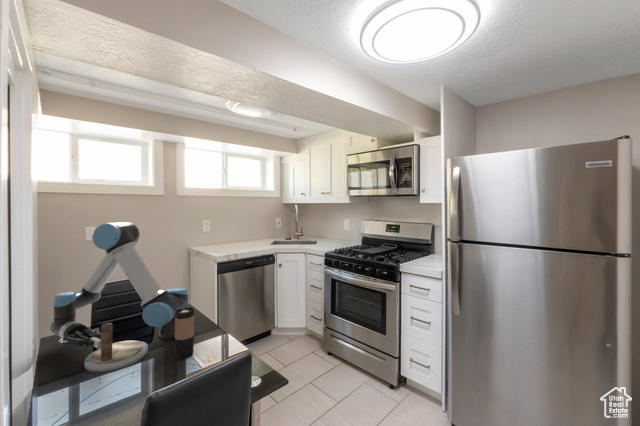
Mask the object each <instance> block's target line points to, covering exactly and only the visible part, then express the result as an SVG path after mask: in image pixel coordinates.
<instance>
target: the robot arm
mask: <svg viewBox="0 0 640 426" xmlns="http://www.w3.org/2000/svg"><path fill="white" fill-rule="evenodd" d="M140 233H141V232H140V230H139V227H138V226H137V225H135V224H134V223H132V222H130V221H129V222H127V221H122V222H119V221H118V222H113V221H112V222H111V221H110V222H106V223H102V224H100V225H98V226H97V227H96V228H94V230H93V234H92V243H93V245H94V246H95V247H96V248H98V249H100V250H104V251H105V252H106V254H104V256H103V258H102V260H101V261H100V262H99V264H98V265H97V267H96V268H95V270H94V271H93V273H91V276H90V277H89V278H88V280H87V282H86V283H85V284H84V286H83V288H81V290H80V291H79V292H77V293H76V292H75V291H66V292H60V293H57V294H56V295H55V296H54V300H53V301H54V302H53V320H52V322H51V323H50V326H49V329H50V331H51V333H52V334H53V335H55V336H58V337H60V338H61V339H62V345H69V346H74V347H75V346H76V347H84V346H85V347H86V348H88V347H91V346H92V347H94V348H96V349H100V348H101V330H100V327H96V328H94V329H92V328H88V327H87V325H85V324H83V323H81V322H78V321H76V319H77V318H76V316H77V314H76V313H77V310H80V309H83V307H86V306H88V305H91V304H93V303H96V302H97V301H99V300H100V299H101V296H102V290H103V289H104V287H105V285H106V284H107V283H108V281H109V280H110V278H111V277H112V275H113V274H114V273H115V271H116V269H117V268H118V266H120V268H121V270H122V271H123V272H124V274H125V275H126V277H127V279H128V280H129V281H130V283H131V285H132V286H133V288H134V290H135V291H136V293H137V294H138V295H139V297H140V299H141V300H142V301H141V304H140V306H141V308H142V310H143V311H142V319H143V321H144V323H145V324H147V325H148V326H150V327H153V328H159V327H160V328H159V329H158V330H159V331H158V337H159V338H160V339H163V340H174V339H173V338H175V311H176V310H178V309H186V308H189V296H190V295H189V291H188V289H187V288H185V287H181V288H180V287H178V288H177V287H176V288H168V289H163V288H161V287H160V284H158V282H157V280H156V279H155V277H154V275H153V274H152V273H151V271H150V270H149V268H148V266H147V265H146V263H145V262H144V260H143V258H142V257H141V255H140V254H139V252H138V250H136V248H135V246H136V244H137V242H138V241H139V238H140V235H141V234H140Z"/></svg>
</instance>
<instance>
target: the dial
mask: <svg viewBox="0 0 640 426" xmlns="http://www.w3.org/2000/svg"><path fill="white" fill-rule="evenodd" d="M100 329H101V330H100V333H101V348H97V349H96V350H95V352H94V351H93V352H94V353H93V352H92V353H93V354H92V355H91V361H92V362H94V363H100V364H103V363H112V362H117V361H121V360H124V359H127V358H129V357H131V356H133V355H135V354H137V353H138V352H140V351H141V350H142V348H143V344H142V342H143V341H141V342H140V340H123V341H121V340H120V341H118V342H117V341H116V342H113V323H112V322H106V323H103V324H101V326H100Z"/></svg>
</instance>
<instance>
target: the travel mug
mask: <svg viewBox="0 0 640 426" xmlns="http://www.w3.org/2000/svg"><path fill="white" fill-rule="evenodd" d="M194 340H195V308H194V307H188V308H186V309H178V310H176V311H175V339H174V356H175V357H174V358H175V359H176V360H178V361H182V360H184V361H185V360H186V359H187V358H188V359H189V357H190V358H192V357H193V356H194V346H195V345H194V343H195V341H194Z"/></svg>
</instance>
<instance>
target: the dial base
mask: <svg viewBox="0 0 640 426" xmlns="http://www.w3.org/2000/svg"><path fill="white" fill-rule="evenodd" d="M139 341H140V340H139ZM140 342H142V344H143V348H142V350H141V351H140V352H138V353H137V354H135V355H133V356H131V357H129V358H127V359H124V360H121V361H117V362H112V363H103V364H100V363H94V362H92V361H91V355H92V354H93V353H94V352H95V351H96V350H95V351H93V352H91V353H89V355H87V356H86V357H85V358H84V369H85V370H86V371H87V372H94V373H102V372H109V371H114V370H119V369H121V368H125V367H128V366H130V365H132V364H135V363H137V362H139V361H141V360H142V359H143V358H144V357H145V356H146V355H148V352H149V347H148V343H147V342H145V341H140Z"/></svg>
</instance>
